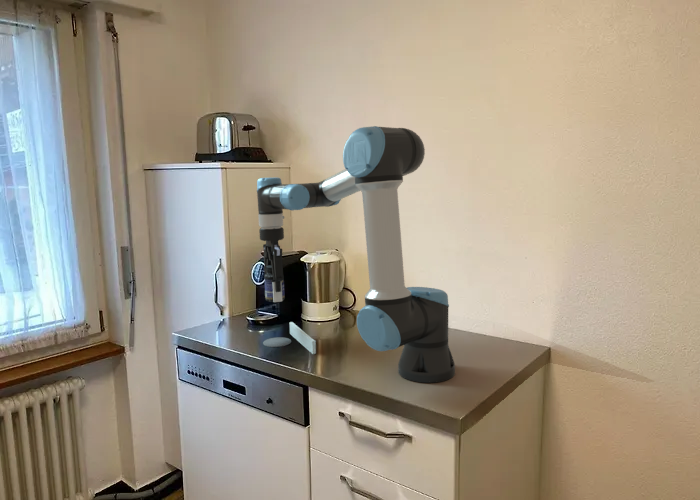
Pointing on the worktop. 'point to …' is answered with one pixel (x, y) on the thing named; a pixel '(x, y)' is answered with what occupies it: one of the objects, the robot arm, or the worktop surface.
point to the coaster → (277, 342)
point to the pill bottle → (271, 285)
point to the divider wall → (303, 338)
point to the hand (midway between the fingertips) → (274, 299)
